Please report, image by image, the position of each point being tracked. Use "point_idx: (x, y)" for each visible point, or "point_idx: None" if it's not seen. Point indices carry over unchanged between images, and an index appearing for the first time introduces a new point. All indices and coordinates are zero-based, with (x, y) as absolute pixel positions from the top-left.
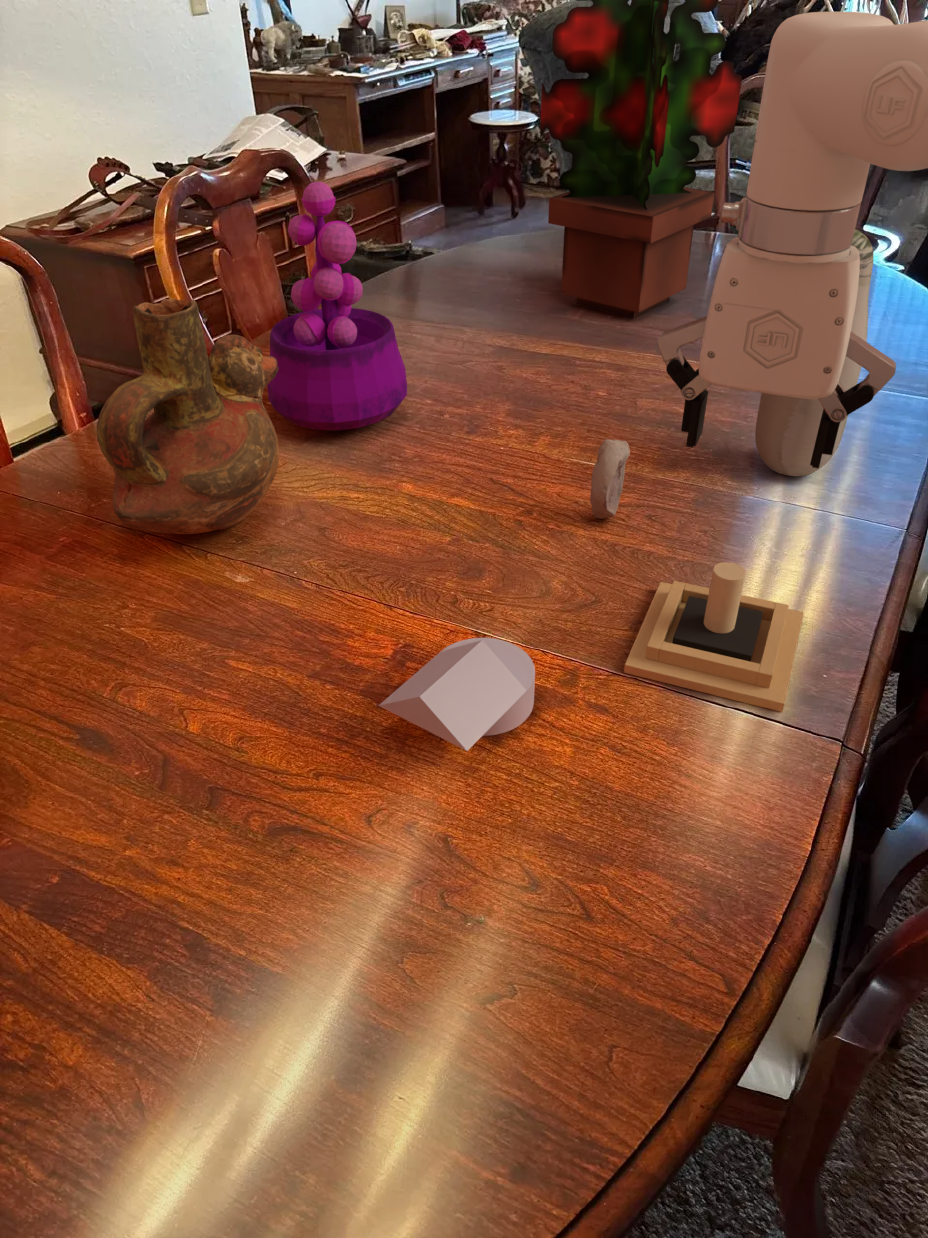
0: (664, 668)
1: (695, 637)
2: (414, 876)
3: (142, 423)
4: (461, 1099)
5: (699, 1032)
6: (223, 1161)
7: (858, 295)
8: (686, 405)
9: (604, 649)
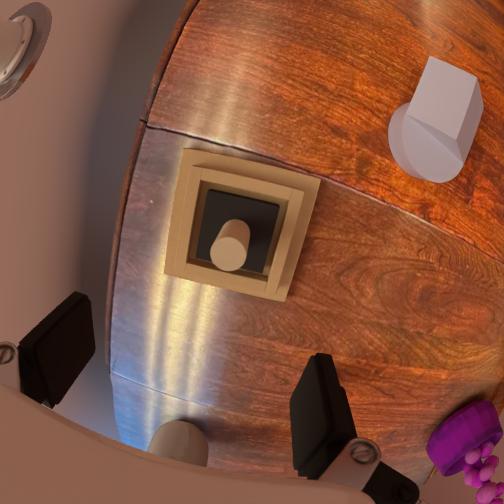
0: (285, 177)
1: (258, 210)
2: (419, 6)
3: None
4: None
5: None
6: None
7: None
8: (351, 429)
9: (335, 209)
